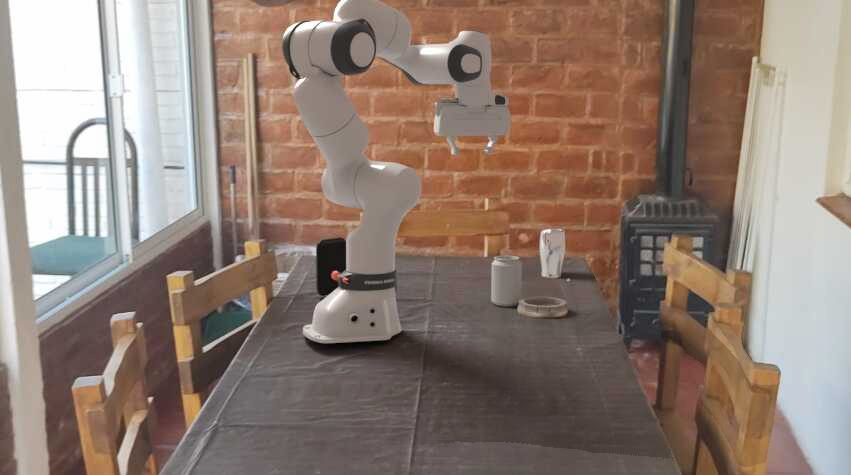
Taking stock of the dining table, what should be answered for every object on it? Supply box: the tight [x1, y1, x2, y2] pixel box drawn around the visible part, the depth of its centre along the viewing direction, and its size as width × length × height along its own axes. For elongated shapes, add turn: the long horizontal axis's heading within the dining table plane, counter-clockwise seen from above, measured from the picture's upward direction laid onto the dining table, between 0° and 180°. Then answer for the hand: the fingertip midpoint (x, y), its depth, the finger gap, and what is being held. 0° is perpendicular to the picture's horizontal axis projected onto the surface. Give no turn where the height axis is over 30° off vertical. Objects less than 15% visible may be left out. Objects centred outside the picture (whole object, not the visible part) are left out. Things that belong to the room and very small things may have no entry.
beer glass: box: [539, 228, 566, 279], centre depth 250 cm, size 7×7×15 cm
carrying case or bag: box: [315, 237, 346, 297], centre depth 235 cm, size 11×3×15 cm, turn 135°
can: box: [490, 255, 523, 308], centre depth 226 cm, size 8×8×12 cm
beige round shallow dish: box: [517, 295, 568, 319], centre depth 219 cm, size 12×12×2 cm
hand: (472, 154), depth 226 cm, fingers open, 8 cm apart
